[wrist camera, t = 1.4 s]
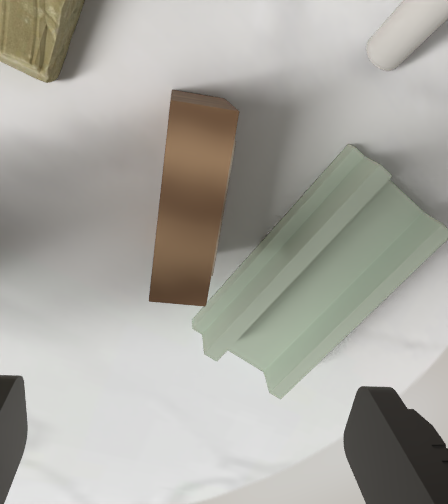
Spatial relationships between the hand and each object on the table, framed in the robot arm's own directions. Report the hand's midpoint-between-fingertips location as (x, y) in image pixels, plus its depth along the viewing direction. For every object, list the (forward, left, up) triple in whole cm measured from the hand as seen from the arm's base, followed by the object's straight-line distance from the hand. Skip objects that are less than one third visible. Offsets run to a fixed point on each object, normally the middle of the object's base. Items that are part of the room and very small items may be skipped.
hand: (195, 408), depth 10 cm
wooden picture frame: (-1, -1, -28) cm, 28 cm away
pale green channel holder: (-1, -16, -28) cm, 33 cm away
